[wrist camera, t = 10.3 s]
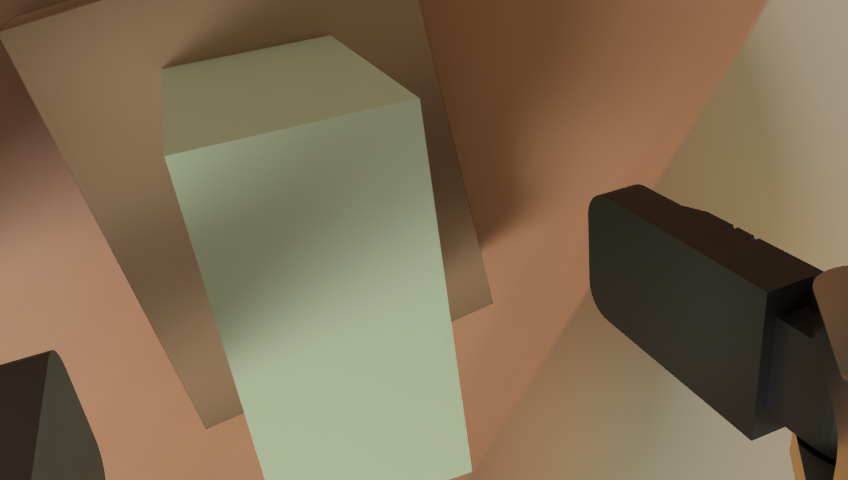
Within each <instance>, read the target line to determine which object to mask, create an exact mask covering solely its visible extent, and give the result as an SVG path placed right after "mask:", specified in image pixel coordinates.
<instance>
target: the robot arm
mask: <svg viewBox="0 0 848 480" xmlns="http://www.w3.org/2000/svg"><path fill="white" fill-rule="evenodd" d="M588 222H589V270H590V288H591V292H592V296H593V299H594V301H595V304H596V306H597V307H598V309H599V311H600V312H601V314H602V315H603V316H604V317H605V318H606V319H607V320H608V321H609V322H610V323H612V324H613V325H614V326H615V327H616V328H617V329H619V330H620V331H621V332H622V333H624V334H625V335H626V336H627V337H628V338H629V339H631V340H632V341H633V342H634V343H635V344H637V345H638V346H639V347H640V348H641V349H643V350H644V351H645V352H646V353H647V354H649V355H650V356H651V357H652V358H653V359H655V360H656V361H657V362H658V363H659V364H661V365H662V366H663V367H664V368H665V369H666V370H668V371H669V372H670V373H671V374H672V375H674V376H675V377H676V378H677V379H678V380H680V381H681V382H682V383H683V384H684V385H686V386H687V387H688V388H689V389H690V390H692V391H693V392H694V393H695V394H696V395H698V396H699V397H700V398H701V399H702V400H704V401H705V402H706V403H707V404H708V405H710V406H711V407H712V408H713V409H714V410H716V411H717V412H718V413H719V414H720V415H722V416H723V417H724V418H725V419H726V420H728V421H729V422H730V423H731V424H732V425H733V426H735V427H736V428H737V429H738V430H739V431H741V432H742V433H743V434H744V435H745V436H746V437H748V438H749V439H750V440H754V439H757V438H759V437H761V436H764V435H766V434H769V433H771V432H773V431H776V430H778V429H781V428H783V427H787V428H788V429H789V430H790V431H792V439H791V446H790V456H791V460H792V466H793V470H794V475H795V480H848V266H841V267H836V268H833V269H829V270H827V271H825V272H823V271H821V270H819V269H818V268H816V267H814V266H812V265H810V264H808V263H806V262H804V261H802V260H800V259H798V258H796V257H794V256H792V255H790V254H788V253H786V252H784V251H782V250H781V249H778V248H777V247H775V246H773V245H771V244H769V243H767V242H765V241H763V240H761V239H756V240H755V239H754V236H753V235H751V234H749V233H747V232H745V231H744V230H742V229H740V228H735V229H734V228H733V225H732V224H730V223H728V222H726V221H724V220H722V219H720V218H718V217H716V216H714V215H712V214H710V213H709V212H705V211H701V210H697V209H693V208H689V207H685V206H681V205H679V204H677V203H675V202H674V201H671V200H670V199H668V198H666V197H664V196H662V195H660V194H658V193H656V192H654V191H653V190H651V189H649V188H647V187H645V186H643V185H639V184H637V185H632V186H629V187H625V188H622V189H618V190H615V191H611V192H608V193H604V194H601V195H597V196H595V197H594V198H593V199H592V200H591V202H590V205H589V211H588ZM0 480H105V473H104V467H103V463H102V459H101V455H100V451H99V448H98V445H97V442H96V440H95V437H94V435H93V432H92V430H91V428H90V425H89V423H88V421H87V418H86V416H85V413H84V411H83V409H82V406H81V404H80V401H79V399H78V397H77V394H76V392H75V390H74V387H73V385H72V382H71V380H70V378H69V375H68V373H67V371H66V368H65V366H64V364H63V362H62V360H61V358H60V356H59V355H58V354H57V352H56V351H54V350H51V351H47V352H44V353H40V354H37V355H33V356H30V357H26V358H23V359H19V360H16V361H12V362H9V363H5V364H2V365H0Z"/></svg>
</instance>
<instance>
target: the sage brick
mask: <svg viewBox="0 0 848 480" xmlns="http://www.w3.org/2000/svg"><path fill="white" fill-rule="evenodd" d="M161 92H162V115H163V139H164V157H165V160H166V163H167V167H168V170H169V173H170V176H171V180H172V183H173V186H174V189H175V192H176V196H177V199H178V202H179V205H180V209H181V212H182V215H183V218H184V221H185V225H186V228H187V231H188V234H189V237H190V241H191V244H192V247H193V250H194V254H195V257H196V260H197V263H198V266H199V270H200V273H201V276H202V279H203V282H204V286H205V289H206V292H207V295H208V299H209V302H210V305H211V308H212V311H213V315H214V318H215V321H216V324H217V328H218V331H219V334H220V337H221V340H222V344H223V347H224V350H225V353H226V356H227V360H228V363H229V366H230V369H231V373H232V376H233V379H234V382H235V385H236V389H237V392H238V395H239V398H240V402H241V405H242V408H243V411H244V414H245V418H246V421H247V424H248V427H249V430H250V434H251V437H252V440H253V443H254V447H255V450H256V453H257V456H258V459H259V463H260V466H261V469H262V472H263V475H264V479H265V480H450V479H453V478H456V477H459V476H461V475H464V474H467V473H470V472H472V467H471V460H470V453H469V445H468V438H467V431H466V424H465V417H464V410H463V403H462V396H461V388H460V381H459V374H458V367H457V360H456V353H455V346H454V339H453V331H452V324H451V317H450V310H449V303H448V296H447V289H446V282H445V274H444V267H443V260H442V253H441V246H440V239H439V232H438V224H437V217H436V210H435V203H434V196H433V189H432V182H431V175H430V167H429V160H428V153H427V146H426V139H425V132H424V125H423V118H422V110H421V103H420V98H419V97H417V96H416V95H414V94H413V93H412V92H410V91H409V90H407V89H406V88H405V87H403V86H402V85H400V84H399V83H397V82H396V81H395V80H393V79H392V78H390V77H389V76H388V75H386V74H385V73H383V72H382V71H380V70H379V69H378V68H376V67H375V66H373V65H372V64H371V63H369V62H368V61H366V60H365V59H364V58H362V57H361V56H359V55H358V54H356V53H355V52H354V51H352V50H351V49H349V48H348V47H347V46H345V45H344V44H342V43H341V42H339V41H338V40H337V39H335V38H334V37H332V36H331V35H329V36H324V37H319V38H314V39H309V40H304V41H299V42H294V43H289V44H284V45H279V46H274V47H269V48H264V49H259V50H254V51H249V52H244V53H239V54H234V55H229V56H224V57H219V58H214V59H209V60H204V61H199V62H194V63H189V64H184V65H179V66H174V67H169V68H164V69H161Z"/></svg>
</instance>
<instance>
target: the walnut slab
mask: <svg viewBox="0 0 848 480" xmlns="http://www.w3.org/2000/svg"><path fill="white" fill-rule="evenodd" d="M329 35H331V36H332V37H334V38H335V39H337V40H338V41H339V42H341V43H342V44H344V45H345V46H347V47H348V48H349V49H351V50H352V51H354V52H355V53H356V54H358V55H359V56H361V57H362V58H364V59H365V60H366V61H368V62H369V63H371V64H372V65H373V66H375V67H376V68H378V69H379V70H380V71H382V72H383V73H385V74H386V75H388V76H389V77H390V78H392V79H393V80H395V81H396V82H397V83H399V84H400V85H402V86H403V87H405V88H406V89H407V90H409V91H410V92H412V93H413V94H414V95H416V96H417V97H419V98H420V103H421V110H422V118H423V125H424V132H425V139H426V146H427V153H428V160H429V167H430V175H431V182H432V189H433V196H434V203H435V210H436V217H437V224H438V232H439V239H440V246H441V253H442V260H443V267H444V274H445V282H446V289H447V296H448V303H449V310H450V317H451V321H454V320H456V319H458V318H460V317H463V316H465V315H467V314H470V313H472V312H474V311H476V310H479V309H481V308H483V307H486V306H488V305H490V304H492V303H493V301H492V297H491V292H490V288H489V284H488V280H487V276H486V272H485V268H484V264H483V260H482V256H481V252H480V248H479V244H478V240H477V235H476V231H475V227H474V223H473V219H472V215H471V211H470V207H469V203H468V199H467V195H466V191H465V187H464V183H463V179H462V174H461V170H460V166H459V162H458V158H457V154H456V150H455V146H454V142H453V138H452V134H451V130H450V126H449V122H448V117H447V113H446V109H445V105H444V101H443V97H442V93H441V89H440V85H439V81H438V77H437V73H436V69H435V65H434V61H433V56H432V52H431V48H430V44H429V40H428V36H427V32H426V28H425V24H424V20H423V16H422V12H421V8H420V4H419V0H67V1H64V2H60V3H57V4H54V5H50V6H47V7H44V8H41V9H37V10H34V11H31V12H28V13H24V14H21V15H18V16H15V17H14V18H12V19H11V20H10V21H9V22H8V23H7V24H6V25H5V26H4V27H3V28H2V29H0V40H1V41H2V43H3V45H4V47H5V49H6V51H7V53H8V55H9V57H10V59H11V60H12V62H13V64H14V66H15V68H16V70H17V72H18V74H19V76H20V77H21V79H22V81H23V83H24V85H25V87H26V89H27V91H28V93H29V95H30V96H31V98H32V100H33V102H34V104H35V106H36V108H37V110H38V112H39V113H40V115H41V117H42V119H43V121H44V123H45V125H46V127H47V129H48V131H49V132H50V134H51V136H52V138H53V140H54V142H55V144H56V146H57V148H58V149H59V151H60V153H61V155H62V157H63V159H64V161H65V163H66V165H67V167H68V168H69V170H70V172H71V174H72V176H73V178H74V180H75V182H76V184H77V186H78V187H79V189H80V191H81V193H82V195H83V197H84V199H85V201H86V203H87V204H88V206H89V208H90V210H91V212H92V214H93V216H94V218H95V220H96V222H97V223H98V225H99V227H100V229H101V231H102V233H103V235H104V237H105V239H106V240H107V242H108V244H109V246H110V248H111V250H112V252H113V254H114V256H115V258H116V259H117V261H118V263H119V265H120V267H121V269H122V271H123V273H124V275H125V276H126V278H127V280H128V282H129V284H130V286H131V288H132V290H133V292H134V294H135V295H136V297H137V299H138V301H139V303H140V305H141V307H142V309H143V311H144V312H145V314H146V316H147V318H148V320H149V322H150V324H151V326H152V328H153V330H154V331H155V333H156V335H157V337H158V339H159V341H160V343H161V345H162V347H163V348H164V350H165V352H166V354H167V356H168V358H169V360H170V362H171V364H172V366H173V367H174V369H175V371H176V373H177V375H178V377H179V379H180V381H181V383H182V384H183V386H184V388H185V390H186V392H187V394H188V396H189V398H190V400H191V402H192V403H193V405H194V407H195V409H196V411H197V413H198V415H199V417H200V419H201V420H202V422H203V424H204V426H205V428H206V429H208V428H210V427H212V426H215V425H217V424H219V423H221V422H224V421H226V420H228V419H231V418H233V417H235V416H237V415H240V414H242V413H244V411H243V408H242V405H241V402H240V398H239V395H238V392H237V389H236V385H235V382H234V379H233V376H232V373H231V369H230V366H229V363H228V360H227V356H226V353H225V350H224V347H223V344H222V340H221V337H220V334H219V331H218V328H217V324H216V321H215V318H214V315H213V311H212V308H211V305H210V302H209V299H208V295H207V292H206V289H205V286H204V282H203V279H202V276H201V273H200V270H199V266H198V263H197V260H196V257H195V254H194V250H193V247H192V244H191V241H190V237H189V234H188V231H187V228H186V225H185V221H184V218H183V215H182V212H181V209H180V205H179V202H178V199H177V196H176V192H175V189H174V186H173V183H172V180H171V176H170V173H169V170H168V167H167V163H166V160H165V157H164V139H163V115H162V92H161V69H164V68H169V67H174V66H179V65H184V64H189V63H194V62H199V61H204V60H209V59H214V58H219V57H224V56H229V55H234V54H239V53H244V52H249V51H254V50H259V49H264V48H269V47H274V46H279V45H284V44H289V43H294V42H299V41H304V40H309V39H314V38H319V37H324V36H329Z"/></svg>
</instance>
